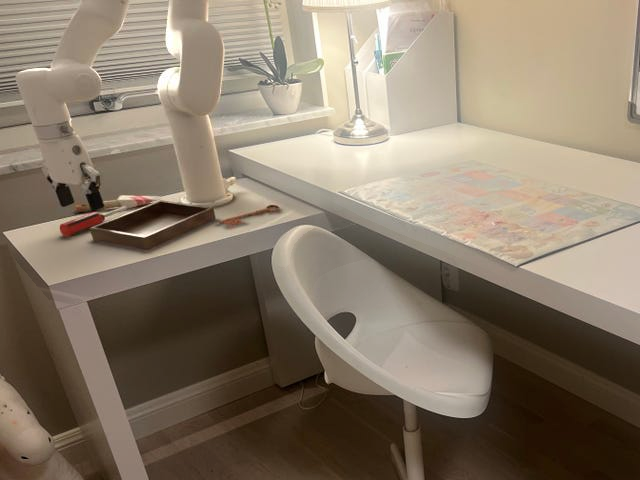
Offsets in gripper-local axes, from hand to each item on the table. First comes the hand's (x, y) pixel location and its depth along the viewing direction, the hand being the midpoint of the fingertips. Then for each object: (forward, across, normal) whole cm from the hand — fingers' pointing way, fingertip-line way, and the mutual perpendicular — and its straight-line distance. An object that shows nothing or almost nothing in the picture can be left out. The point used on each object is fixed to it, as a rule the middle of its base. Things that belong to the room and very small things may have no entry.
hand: (83, 206), depth 165 cm
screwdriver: (+6, 0, -3) cm, 6 cm away
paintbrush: (+6, +6, -14) cm, 16 cm away
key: (+7, -30, -20) cm, 37 cm away
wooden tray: (+6, -16, -5) cm, 17 cm away
